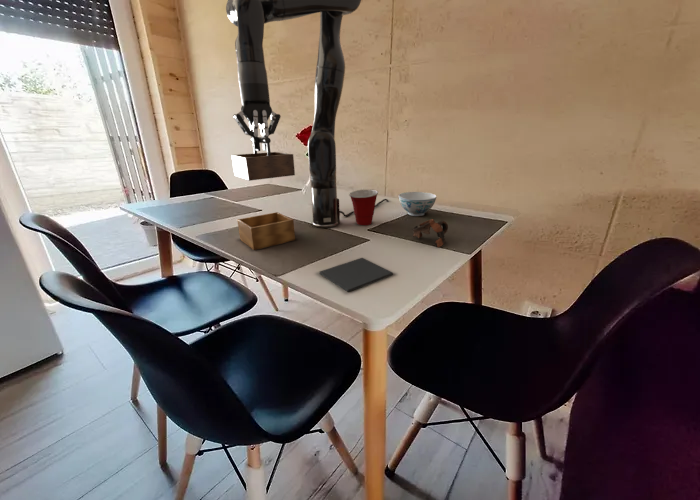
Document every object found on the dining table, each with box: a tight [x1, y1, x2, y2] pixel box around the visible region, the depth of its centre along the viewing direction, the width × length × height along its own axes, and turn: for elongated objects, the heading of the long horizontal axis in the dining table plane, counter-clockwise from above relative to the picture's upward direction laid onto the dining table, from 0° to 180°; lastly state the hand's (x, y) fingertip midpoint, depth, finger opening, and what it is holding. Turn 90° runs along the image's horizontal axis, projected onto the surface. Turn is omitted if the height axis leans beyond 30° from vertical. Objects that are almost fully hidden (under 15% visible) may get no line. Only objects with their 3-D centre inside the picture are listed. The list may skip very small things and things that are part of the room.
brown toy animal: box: [412, 218, 449, 248], centre depth 98 cm, size 12×10×8 cm
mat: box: [319, 257, 394, 293], centre depth 78 cm, size 14×12×1 cm
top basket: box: [230, 136, 296, 182], centre depth 91 cm, size 14×12×11 cm
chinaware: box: [398, 191, 437, 217], centre depth 128 cm, size 15×15×8 cm
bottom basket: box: [236, 211, 296, 251], centre depth 101 cm, size 14×12×7 cm
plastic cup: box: [348, 188, 379, 226], centre depth 116 cm, size 11×11×12 cm
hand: (261, 150), depth 90 cm, fingers closed on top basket
